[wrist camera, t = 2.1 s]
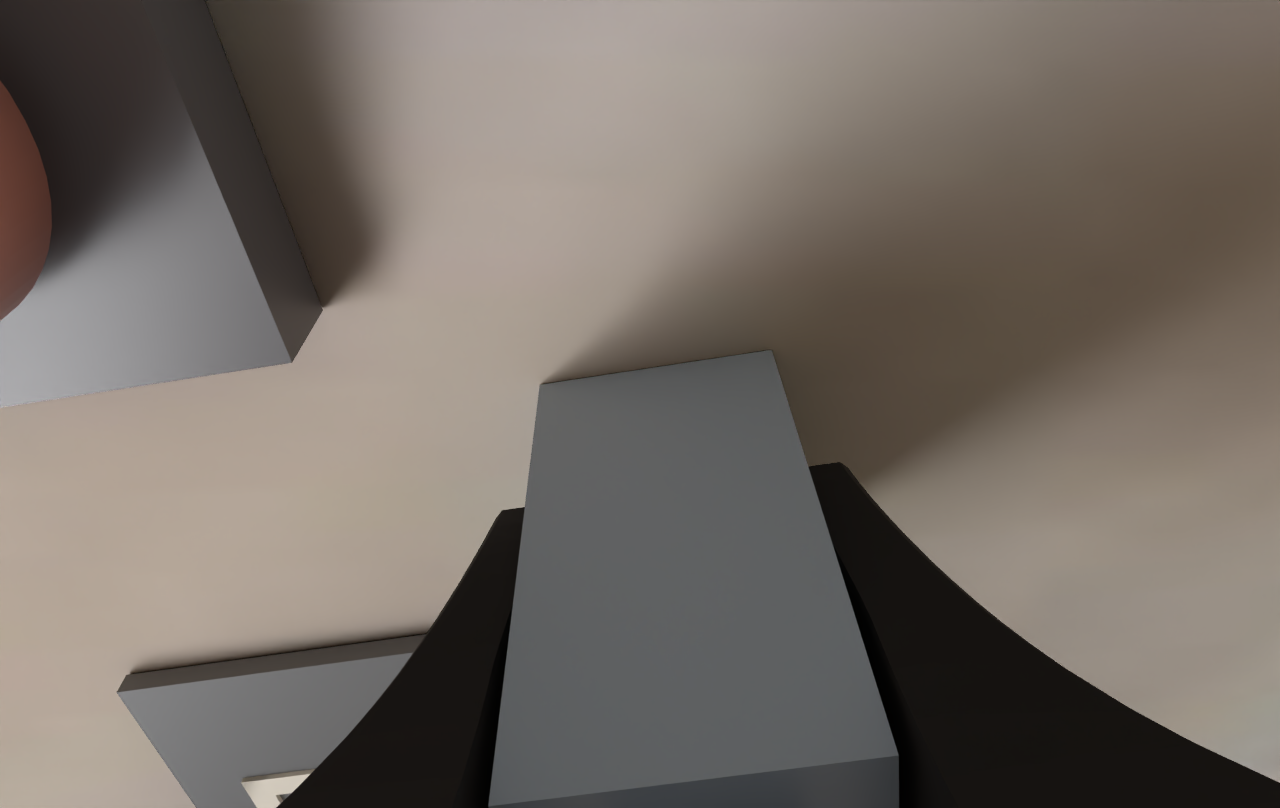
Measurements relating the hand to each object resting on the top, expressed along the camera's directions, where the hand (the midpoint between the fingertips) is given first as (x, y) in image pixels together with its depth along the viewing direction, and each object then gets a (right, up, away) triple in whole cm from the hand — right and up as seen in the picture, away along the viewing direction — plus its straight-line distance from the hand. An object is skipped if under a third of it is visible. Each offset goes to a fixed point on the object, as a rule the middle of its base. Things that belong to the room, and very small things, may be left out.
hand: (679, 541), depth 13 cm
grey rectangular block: (0, +1, +2) cm, 2 cm away
